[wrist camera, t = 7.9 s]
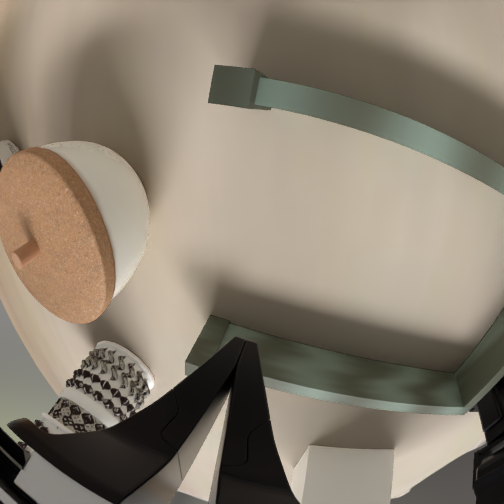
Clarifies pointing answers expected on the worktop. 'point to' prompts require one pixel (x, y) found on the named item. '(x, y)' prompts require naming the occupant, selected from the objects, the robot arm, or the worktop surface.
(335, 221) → the worktop surface
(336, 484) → the milk
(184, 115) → the worktop surface
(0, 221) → the lidded jar
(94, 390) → the decorative candle
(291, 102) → the green shallow rectangular frame
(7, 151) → the supplement can
